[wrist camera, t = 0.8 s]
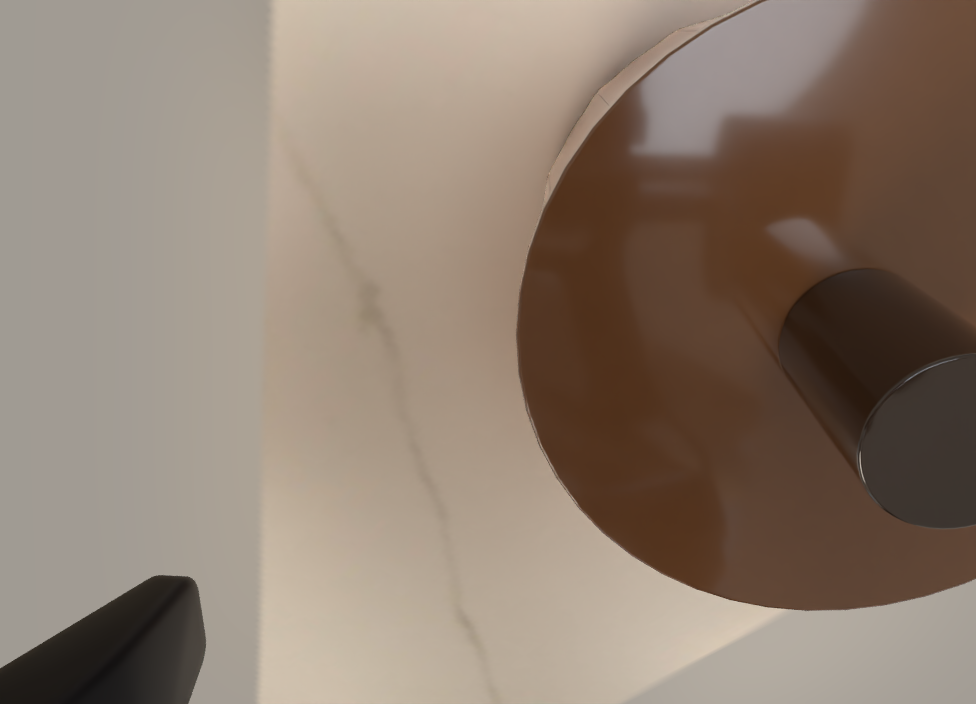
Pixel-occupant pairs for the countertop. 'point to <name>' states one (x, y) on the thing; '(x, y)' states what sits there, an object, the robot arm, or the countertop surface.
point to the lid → (772, 307)
